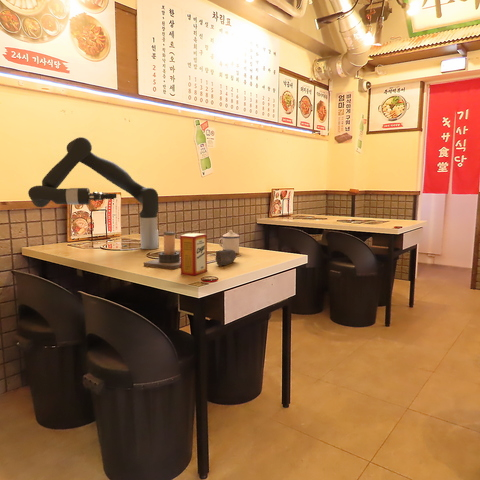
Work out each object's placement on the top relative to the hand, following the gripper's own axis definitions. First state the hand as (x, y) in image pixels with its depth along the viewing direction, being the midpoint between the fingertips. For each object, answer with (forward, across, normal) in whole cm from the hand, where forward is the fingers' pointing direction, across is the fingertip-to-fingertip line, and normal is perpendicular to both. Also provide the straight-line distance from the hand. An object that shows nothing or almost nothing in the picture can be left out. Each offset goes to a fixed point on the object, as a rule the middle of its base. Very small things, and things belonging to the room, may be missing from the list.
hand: (115, 196), depth 183 cm
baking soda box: (+33, -33, +30) cm, 56 cm away
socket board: (+24, -15, +30) cm, 41 cm away
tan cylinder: (+23, -15, +28) cm, 40 cm away
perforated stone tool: (+49, -19, +30) cm, 61 cm away
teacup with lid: (+55, +10, +30) cm, 63 cm away
